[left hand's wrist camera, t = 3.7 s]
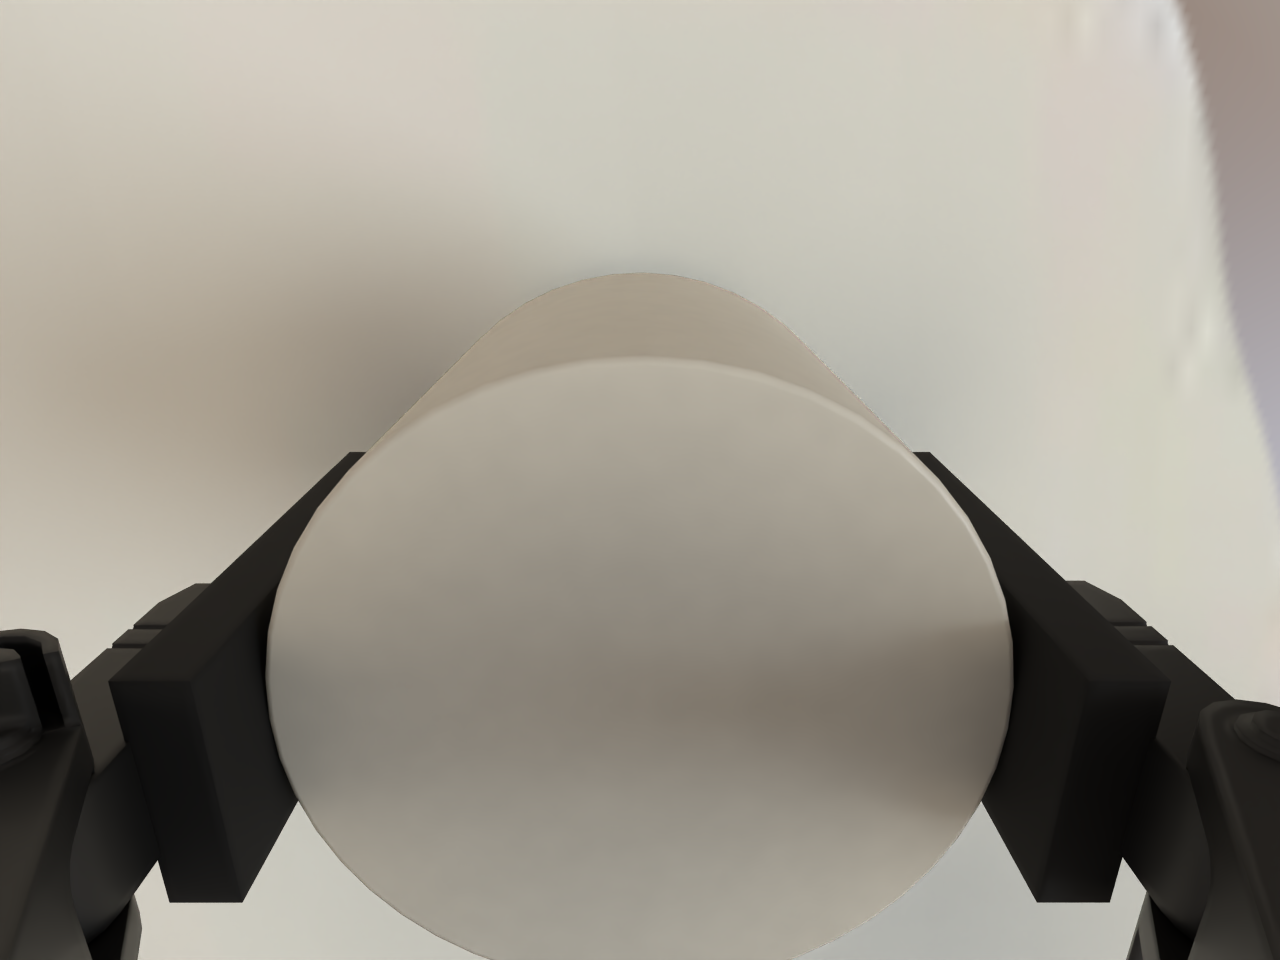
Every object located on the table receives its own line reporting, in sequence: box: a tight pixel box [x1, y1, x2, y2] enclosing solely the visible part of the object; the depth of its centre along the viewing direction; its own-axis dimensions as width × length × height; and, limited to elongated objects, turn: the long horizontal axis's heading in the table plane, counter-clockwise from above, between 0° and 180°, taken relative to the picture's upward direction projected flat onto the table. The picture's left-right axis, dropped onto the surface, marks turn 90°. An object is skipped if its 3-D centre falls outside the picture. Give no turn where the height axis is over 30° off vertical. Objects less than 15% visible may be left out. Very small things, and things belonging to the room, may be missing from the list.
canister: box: [265, 273, 1014, 960], centre depth 12 cm, size 8×8×7 cm
